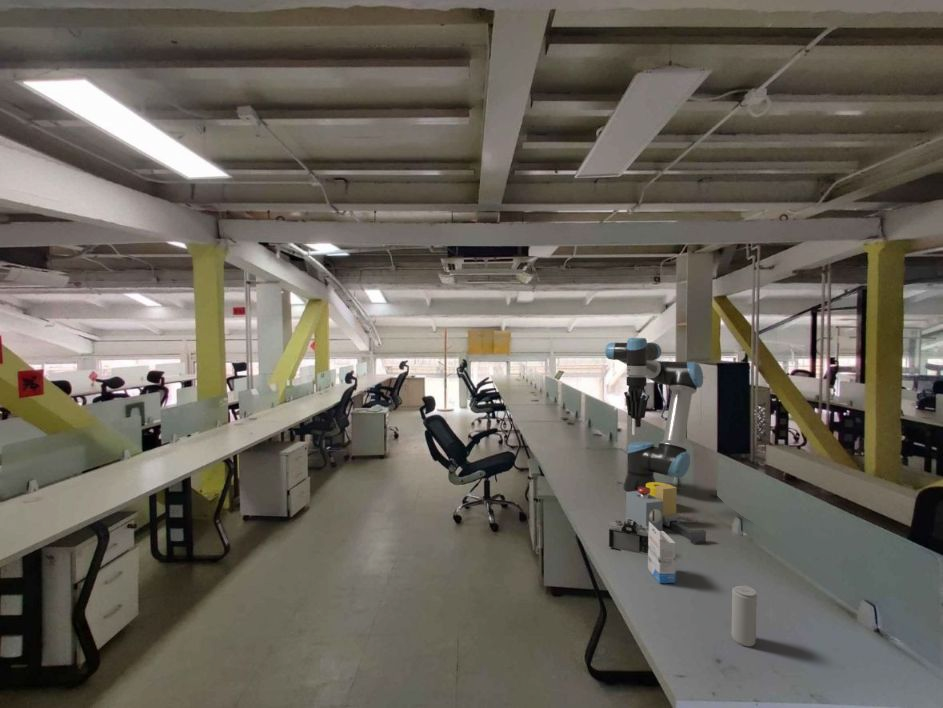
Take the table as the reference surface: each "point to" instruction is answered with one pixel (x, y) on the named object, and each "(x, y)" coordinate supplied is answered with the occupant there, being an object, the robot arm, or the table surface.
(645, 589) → the table surface
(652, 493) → the tape roll
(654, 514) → the gauge cabinet
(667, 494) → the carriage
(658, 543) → the ink box
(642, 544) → the camera
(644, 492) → the plunger
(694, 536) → the rail
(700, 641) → the table surface
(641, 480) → the robot arm
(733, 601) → the beverage can
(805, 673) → the table surface
